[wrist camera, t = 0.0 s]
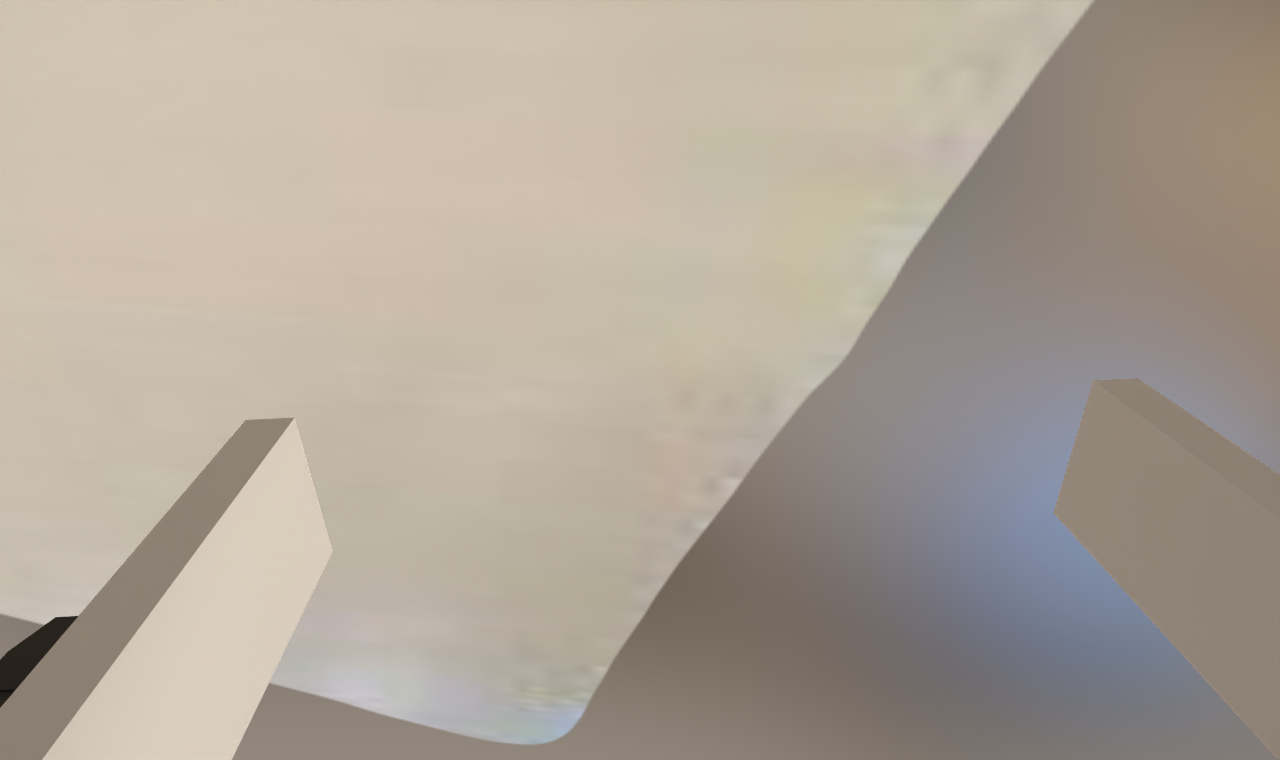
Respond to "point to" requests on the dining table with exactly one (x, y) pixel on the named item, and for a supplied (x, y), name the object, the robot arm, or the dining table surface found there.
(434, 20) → the dining table surface
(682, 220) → the dining table surface
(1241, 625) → the robot arm
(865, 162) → the dining table surface
